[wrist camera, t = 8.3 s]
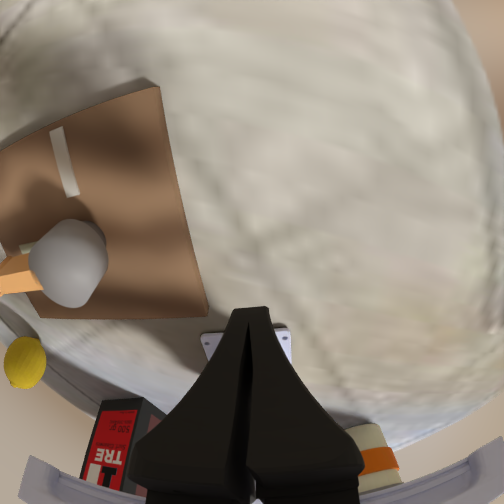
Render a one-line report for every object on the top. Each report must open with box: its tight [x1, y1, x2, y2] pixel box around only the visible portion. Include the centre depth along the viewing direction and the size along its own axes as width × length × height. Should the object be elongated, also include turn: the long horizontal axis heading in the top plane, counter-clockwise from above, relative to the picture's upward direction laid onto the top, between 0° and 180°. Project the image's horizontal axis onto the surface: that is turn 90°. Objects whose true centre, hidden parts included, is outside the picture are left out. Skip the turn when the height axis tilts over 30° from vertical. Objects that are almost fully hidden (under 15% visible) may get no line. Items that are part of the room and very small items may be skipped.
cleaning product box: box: [79, 397, 167, 498], centre depth 29 cm, size 16×9×20 cm, turn 24°
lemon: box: [4, 336, 46, 389], centre depth 24 cm, size 6×6×8 cm
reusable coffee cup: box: [345, 424, 404, 496], centre depth 33 cm, size 12×13×15 cm
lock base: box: [0, 87, 209, 319], centre depth 18 cm, size 17×19×3 cm
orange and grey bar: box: [0, 219, 109, 308], centre depth 16 cm, size 12×5×3 cm, turn 100°
